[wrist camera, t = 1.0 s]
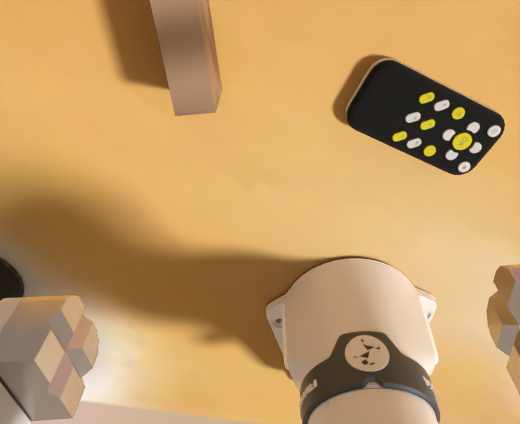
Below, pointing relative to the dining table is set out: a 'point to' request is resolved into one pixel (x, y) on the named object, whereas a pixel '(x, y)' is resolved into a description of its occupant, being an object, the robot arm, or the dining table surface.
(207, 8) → the blocks
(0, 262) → the milk frother
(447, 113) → the remote control
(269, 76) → the dining table surface
